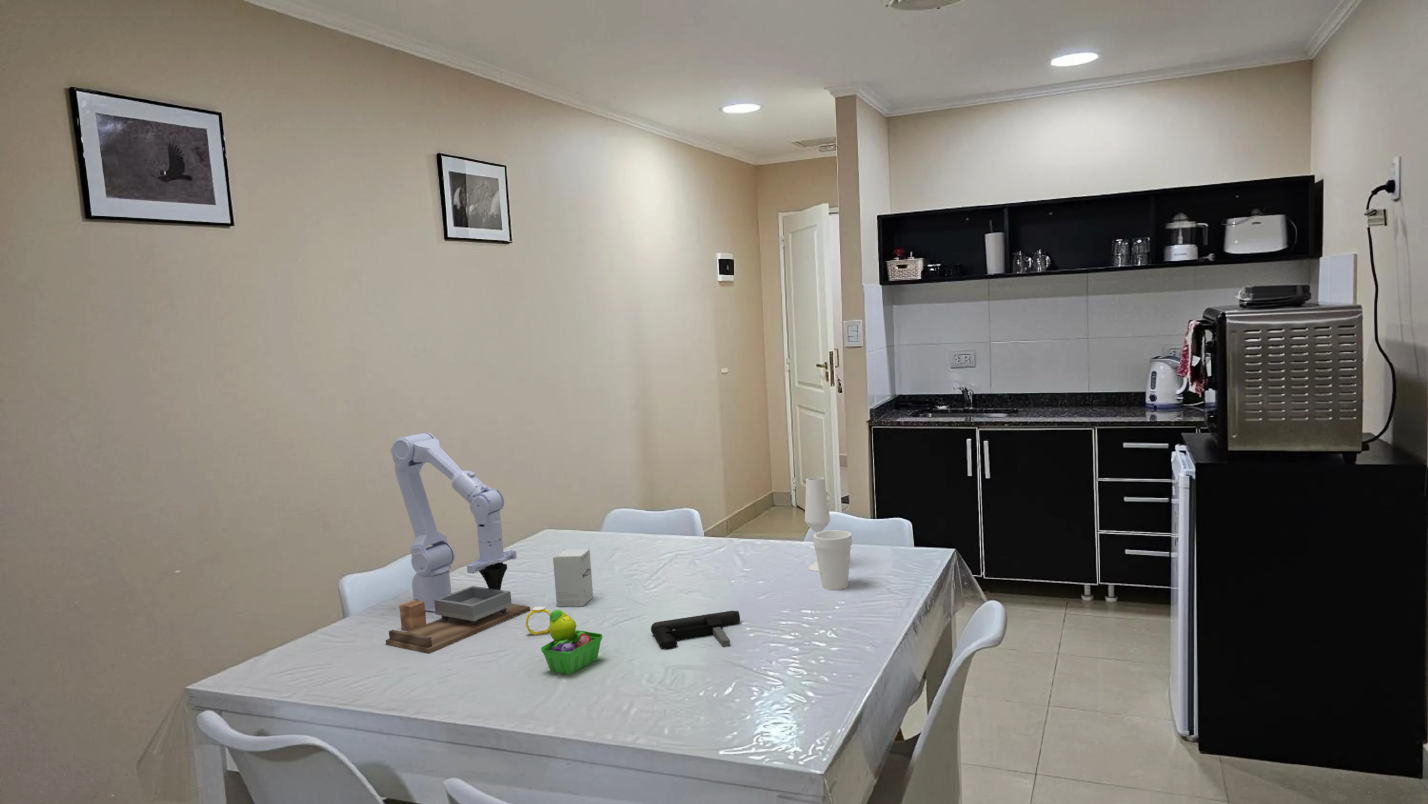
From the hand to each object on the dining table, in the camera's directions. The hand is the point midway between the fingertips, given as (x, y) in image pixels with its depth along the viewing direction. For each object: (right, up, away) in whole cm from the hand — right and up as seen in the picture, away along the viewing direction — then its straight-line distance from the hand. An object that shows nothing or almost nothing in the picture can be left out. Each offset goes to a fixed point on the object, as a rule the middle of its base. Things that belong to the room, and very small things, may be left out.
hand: (495, 594), depth 228 cm
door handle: (+51, -4, -27) cm, 58 cm away
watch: (+14, -5, -18) cm, 23 cm away
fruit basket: (+25, -7, -38) cm, 46 cm away
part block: (-17, -6, -8) cm, 20 cm away
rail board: (-6, -6, -9) cm, 12 cm away
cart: (-4, -4, -6) cm, 8 cm away
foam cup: (+83, +1, +3) cm, 84 cm away
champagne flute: (+82, +3, +20) cm, 84 cm away
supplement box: (+19, -3, +4) cm, 20 cm away
